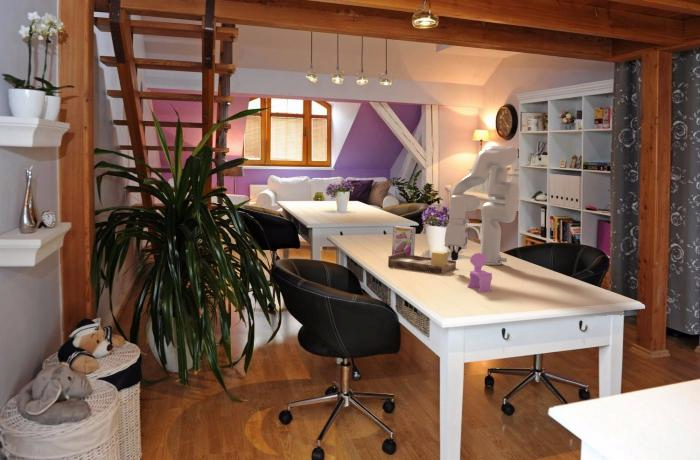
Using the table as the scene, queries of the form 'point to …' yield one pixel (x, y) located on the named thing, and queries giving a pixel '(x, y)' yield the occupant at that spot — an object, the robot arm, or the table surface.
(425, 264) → the brown wooden tray
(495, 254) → the robot arm
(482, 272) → the toy chair
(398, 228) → the candy bar box
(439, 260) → the block
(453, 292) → the table surface
